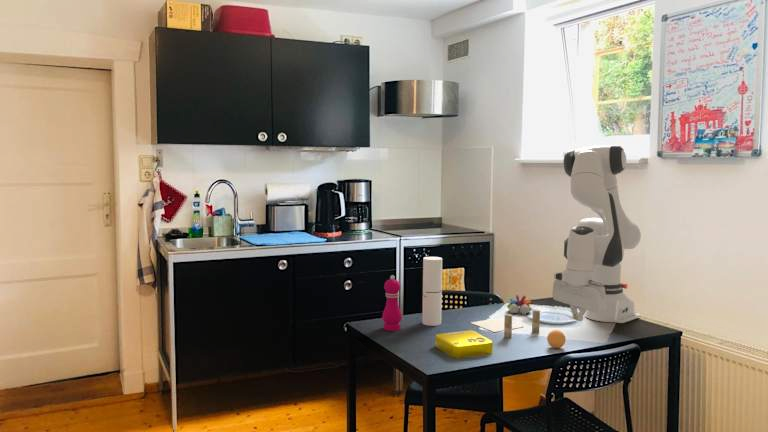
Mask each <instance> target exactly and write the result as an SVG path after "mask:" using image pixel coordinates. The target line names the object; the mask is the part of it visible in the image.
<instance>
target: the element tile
mask: <svg viewBox="0 0 768 432" xmlns="http://www.w3.org/2000/svg"><path fill="white" fill-rule="evenodd" d="M493 344H494V343H493V341H492V340H491V339H489V338H488V337H485V336H484V335H482V334H480V333H478V332H477V331H475V330H461V331H452V332H445V333H443V332H442V333H437V334H436V335H435V347H436V348H437V349H438V350H440V351H441V352H442V353H444V354H446V355H448V356H449V357H451V358H453V359H463V358H471V357H479V356H484V355H485V356H486V355H491V354H493Z"/></svg>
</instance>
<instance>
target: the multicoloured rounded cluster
mask: <svg viewBox="0 0 768 432" xmlns="http://www.w3.org/2000/svg"><path fill="white" fill-rule="evenodd" d="M526 297H527V296H526V295H522V296H521V299H520V296H519V294H516V295H515V298H516V300H515V299H514V298H512V297H509V301H510V302H509V303H508V304H507V305H506V306H507V307H506V308H507V309H508V310H509V312H510V313H511V314H513V313H516V314H518V313H519V312H520V314H521V315H526V314H525V313H528V312H529V313H530V312H531V311H532V307H531V305H530V304H531V303H532V301H531V300H530V299H529V300H526V301H525V299H526ZM529 313H528V314H529Z"/></svg>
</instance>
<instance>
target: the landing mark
mask: <svg viewBox="0 0 768 432" xmlns="http://www.w3.org/2000/svg"><path fill="white" fill-rule="evenodd" d="M496 318H497V317H496ZM496 318H489V319H484V320H478V321H471V322H470V324H472V325H474V326H476V327H480V328H482V329H484V328H485V329H484V330H487V331H489V330H490V331H489V332H492V333H499V332H504V321H505V319H504V320H503V318H501V319H502V320H503V321H502V320H500V319H499V320H497V319H496ZM502 324H503V325H502ZM498 325H499V326H498ZM501 325H502V326H501ZM520 327H522V328H524V326H522V325H520V324H518V323H514V322H512V330H515V328H516V329H521V328H520ZM498 331H499V332H498Z"/></svg>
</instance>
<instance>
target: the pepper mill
mask: <svg viewBox="0 0 768 432" xmlns="http://www.w3.org/2000/svg"><path fill="white" fill-rule="evenodd" d="M395 278H396V277H395V275H393V274H392V275H390V277H389V279H387V280H386V281H385V283H384V284H383V285H384V286H383V288H384V290H385V297H386V303H385V307H384V309H383V312H382V316H381V318H382V321H383V322H384V323H383V329H384V330H385V331H388V332H389V331H390V332H396V331H399V330H401V323H400V322H401V321H402V318H403V315H402V312H401V309H400V306H399V301H398V300H399V297H400V293H399V292H400V290H401V287H402V286H401V283H400V281H399V280H397V279H395Z"/></svg>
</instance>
